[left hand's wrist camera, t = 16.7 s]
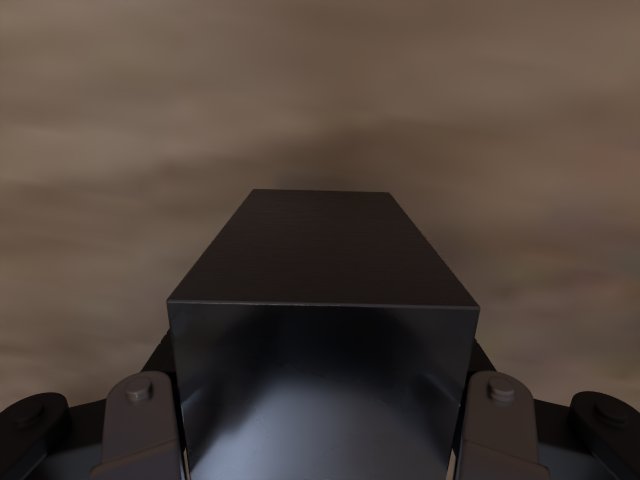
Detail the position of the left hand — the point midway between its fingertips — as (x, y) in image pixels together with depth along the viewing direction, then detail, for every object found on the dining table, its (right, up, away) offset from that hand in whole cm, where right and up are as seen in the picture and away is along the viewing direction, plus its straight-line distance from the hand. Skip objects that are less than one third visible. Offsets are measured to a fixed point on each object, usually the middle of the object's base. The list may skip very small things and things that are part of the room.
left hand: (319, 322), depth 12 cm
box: (0, -5, +7) cm, 9 cm away
